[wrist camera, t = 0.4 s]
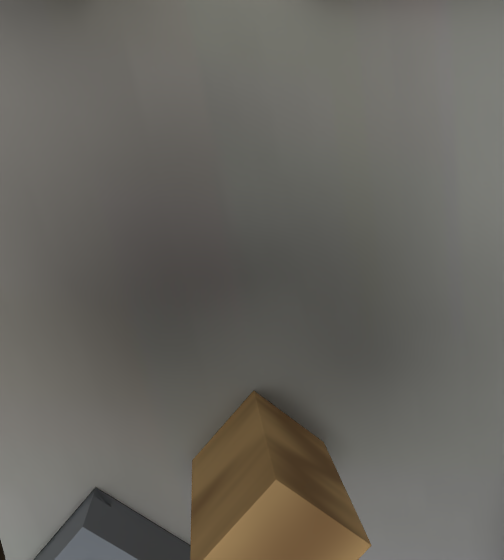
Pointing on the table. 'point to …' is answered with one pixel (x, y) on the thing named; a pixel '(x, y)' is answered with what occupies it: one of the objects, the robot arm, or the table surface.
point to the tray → (111, 535)
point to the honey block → (270, 493)
